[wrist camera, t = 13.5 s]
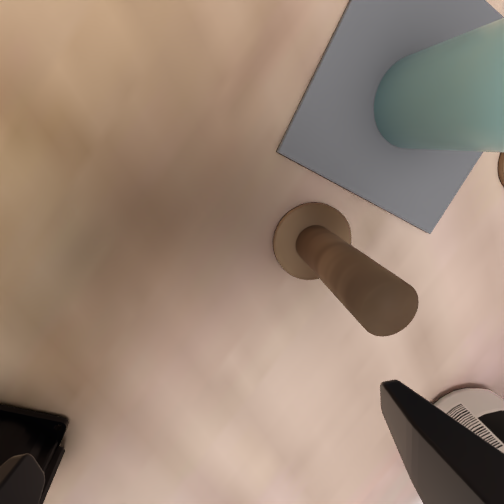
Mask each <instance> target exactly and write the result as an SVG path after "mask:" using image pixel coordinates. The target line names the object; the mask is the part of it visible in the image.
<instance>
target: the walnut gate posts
mask: <svg viewBox="0 0 504 504" xmlns="http://www.w3.org/2000/svg"><path fill="white" fill-rule="evenodd" d="M498 172H499V178H500V181H501V183H502V185H503V186H504V152H501V154H500V158H499V164H498ZM273 248H274V253H275V256H276V258H277V260H278V262H279V263H280V265H281V266H282V267H283V269H284V270H285V271H286V272H287V273H289V274H290V275H292V276H294V277H296V278H299V279H304V280H313V279H319V278H320V279H321V280H322V282H323V283H324V284H325V285H326V286H327V287H328V288H329V289H330V290H331V292H332V293H333V294H334V295H335V296H336V297H337V298H338V299H339V300H340V302H341V303H342V304H343V305H344V306H345V307H346V308H347V309H348V310H349V312H350V313H351V314H352V315H353V316H354V317H355V318H356V319H357V320H358V322H359V323H360V324H361V325H362V326H363V327H364V328H365V329H366V330H367V331H368V332H369V333H371V334H373V335H376V336H389V335H393V334H395V333H397V332H399V331H401V330H402V329H404V328H405V327H406V326H407V325H408V324H409V323H410V322H411V321H412V319H413V318H414V316H415V314H416V312H417V309H418V296H417V293H416V291H415V289H414V288H413V287H412V286H411V285H409V284H408V283H406V282H405V281H403V280H402V279H400V278H399V277H397V276H396V275H395V274H393V273H392V272H390V271H389V270H387V269H386V268H384V267H383V266H381V265H380V264H378V263H377V262H375V261H374V260H372V259H371V258H369V257H368V256H366V255H365V254H363V253H362V252H360V251H359V250H357V249H356V248H354V247H353V246H352V245H351V230H350V227H349V224H348V222H347V220H346V218H345V217H344V216H343V215H342V213H340V212H339V211H338V210H336V209H335V208H333V207H331V206H329V205H326V204H323V203H317V202H311V203H305V204H302V205H299V206H297V207H295V208H293V209H292V210H290V211H289V212H288V213H287V214H286V215H285V216H284V217H283V218H282V219H281V221H280V222H279V224H278V226H277V228H276V230H275V234H274V239H273Z"/></svg>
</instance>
